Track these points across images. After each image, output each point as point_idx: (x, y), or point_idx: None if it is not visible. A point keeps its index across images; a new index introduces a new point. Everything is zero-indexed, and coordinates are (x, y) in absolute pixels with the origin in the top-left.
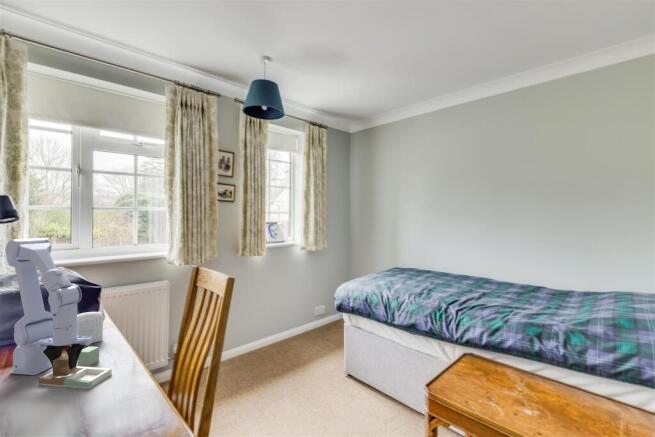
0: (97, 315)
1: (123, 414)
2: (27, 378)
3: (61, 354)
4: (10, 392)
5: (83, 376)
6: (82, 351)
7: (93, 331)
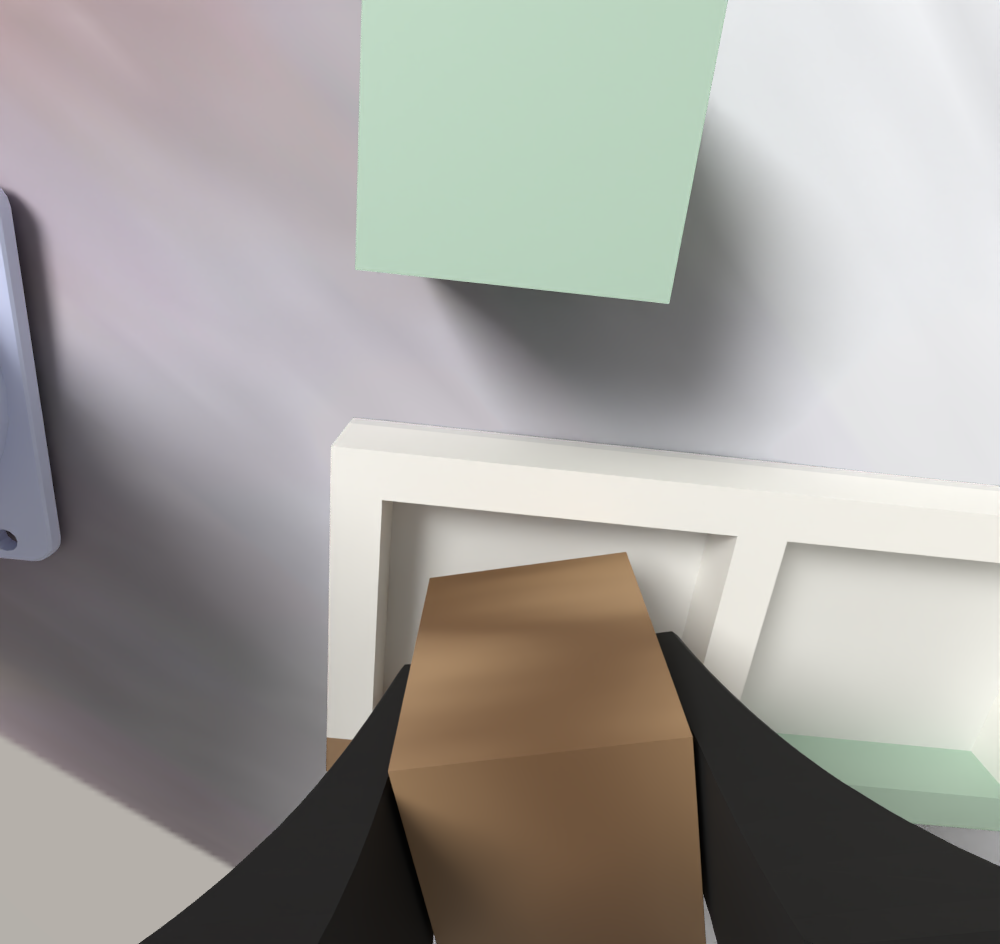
0: None
1: None
2: (48, 600)
3: (381, 794)
4: (206, 823)
5: (774, 587)
6: (468, 261)
7: None
